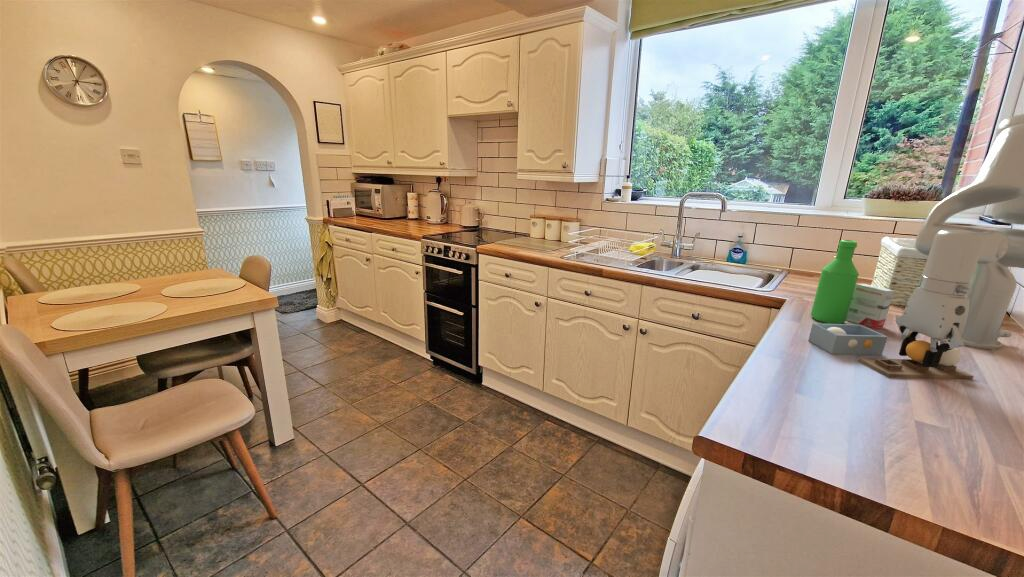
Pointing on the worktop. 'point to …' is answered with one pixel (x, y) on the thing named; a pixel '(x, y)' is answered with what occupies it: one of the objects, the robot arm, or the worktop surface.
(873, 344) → the pale blue tray
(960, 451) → the worktop surface
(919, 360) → the orange ball
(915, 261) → the basket
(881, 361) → the walnut rack
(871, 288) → the ink box
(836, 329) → the cream ball in tray
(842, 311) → the bottle
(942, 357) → the cream ball on rack
